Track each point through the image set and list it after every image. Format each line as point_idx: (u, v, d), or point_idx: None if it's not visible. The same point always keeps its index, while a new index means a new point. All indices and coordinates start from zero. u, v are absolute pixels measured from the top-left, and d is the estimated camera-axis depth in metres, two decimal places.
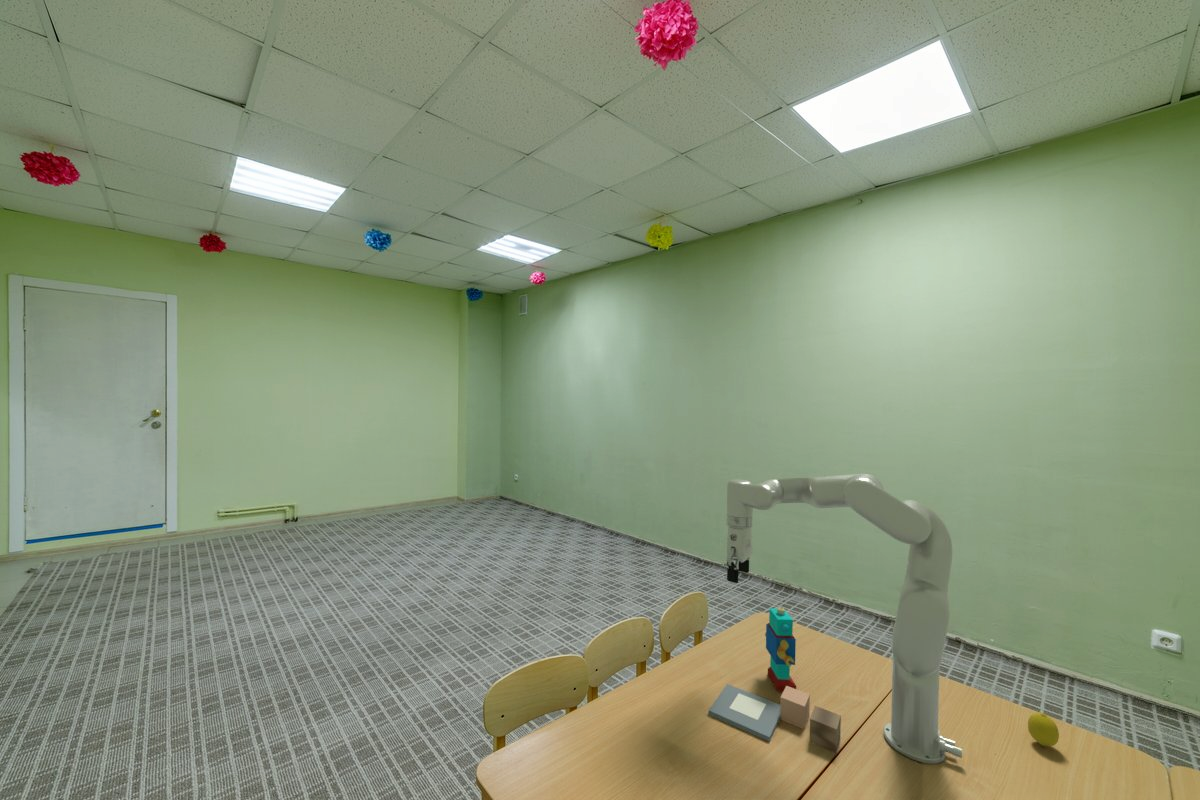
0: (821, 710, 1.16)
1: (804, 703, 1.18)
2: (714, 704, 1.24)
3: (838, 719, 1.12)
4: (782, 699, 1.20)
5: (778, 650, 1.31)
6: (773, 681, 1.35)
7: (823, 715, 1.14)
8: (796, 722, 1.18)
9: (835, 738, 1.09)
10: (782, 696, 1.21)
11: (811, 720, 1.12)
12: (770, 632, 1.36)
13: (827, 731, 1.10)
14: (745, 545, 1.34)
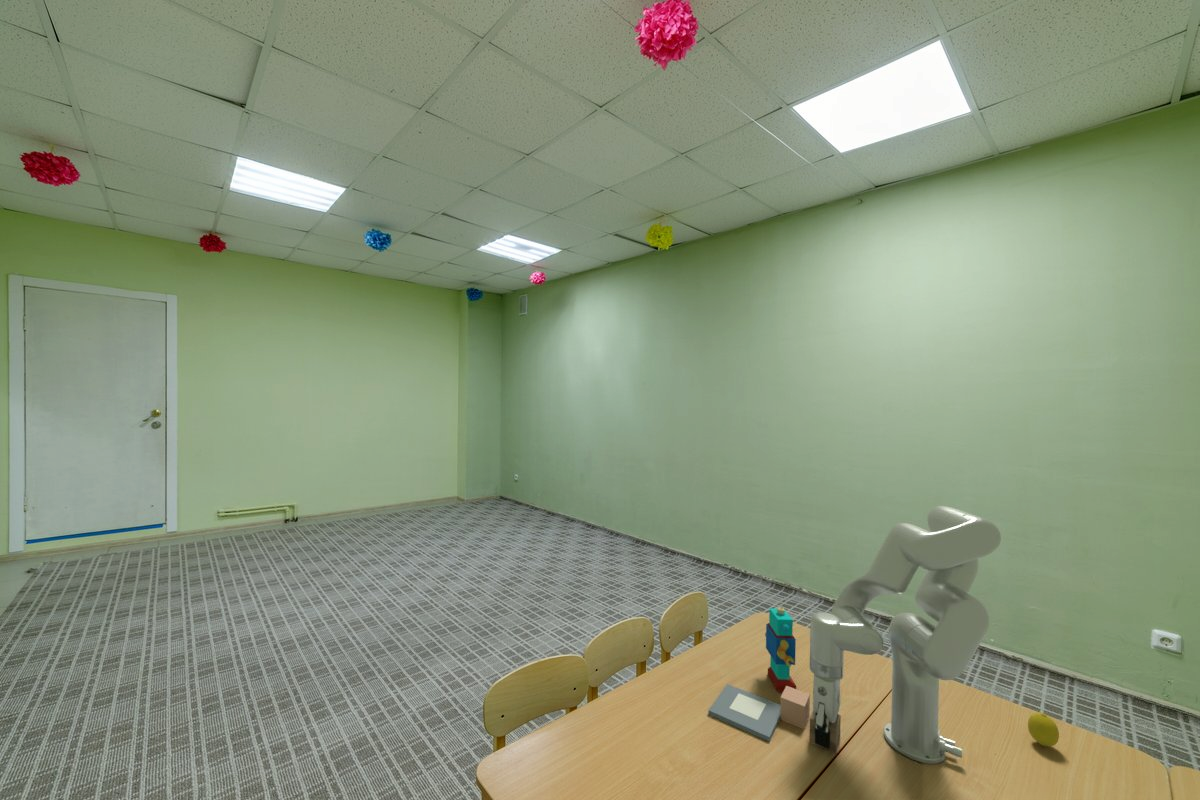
0: None
1: (804, 703, 1.18)
2: (714, 704, 1.24)
3: (838, 719, 1.12)
4: (782, 699, 1.20)
5: (778, 650, 1.31)
6: (773, 681, 1.35)
7: None
8: (796, 722, 1.18)
9: (835, 738, 1.09)
10: (782, 696, 1.21)
11: (811, 720, 1.12)
12: (770, 632, 1.36)
13: None
14: (836, 700, 1.10)
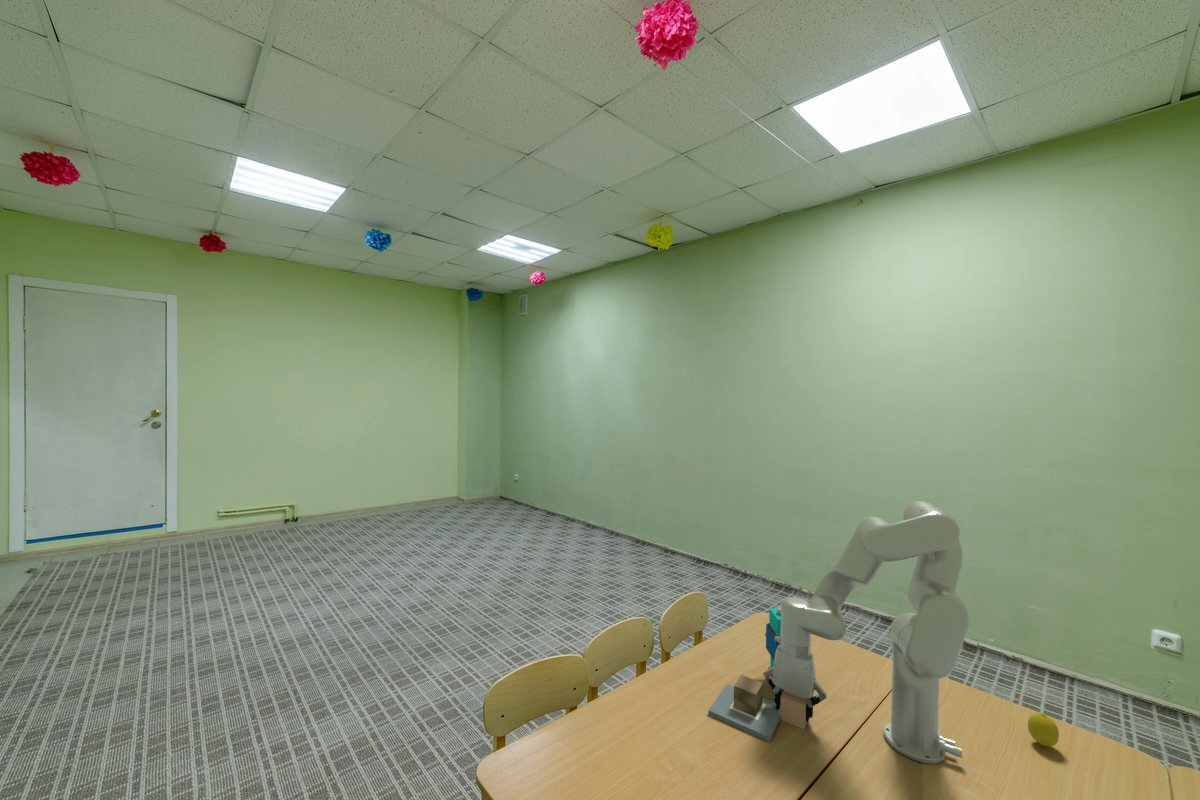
0: (746, 678, 1.26)
1: (804, 703, 1.18)
2: (714, 704, 1.24)
3: (759, 686, 1.23)
4: (782, 699, 1.20)
5: None
6: None
7: (747, 682, 1.24)
8: (796, 722, 1.18)
9: (755, 702, 1.20)
10: (782, 696, 1.21)
11: (735, 687, 1.23)
12: (770, 632, 1.36)
13: (748, 696, 1.21)
14: (782, 671, 1.20)
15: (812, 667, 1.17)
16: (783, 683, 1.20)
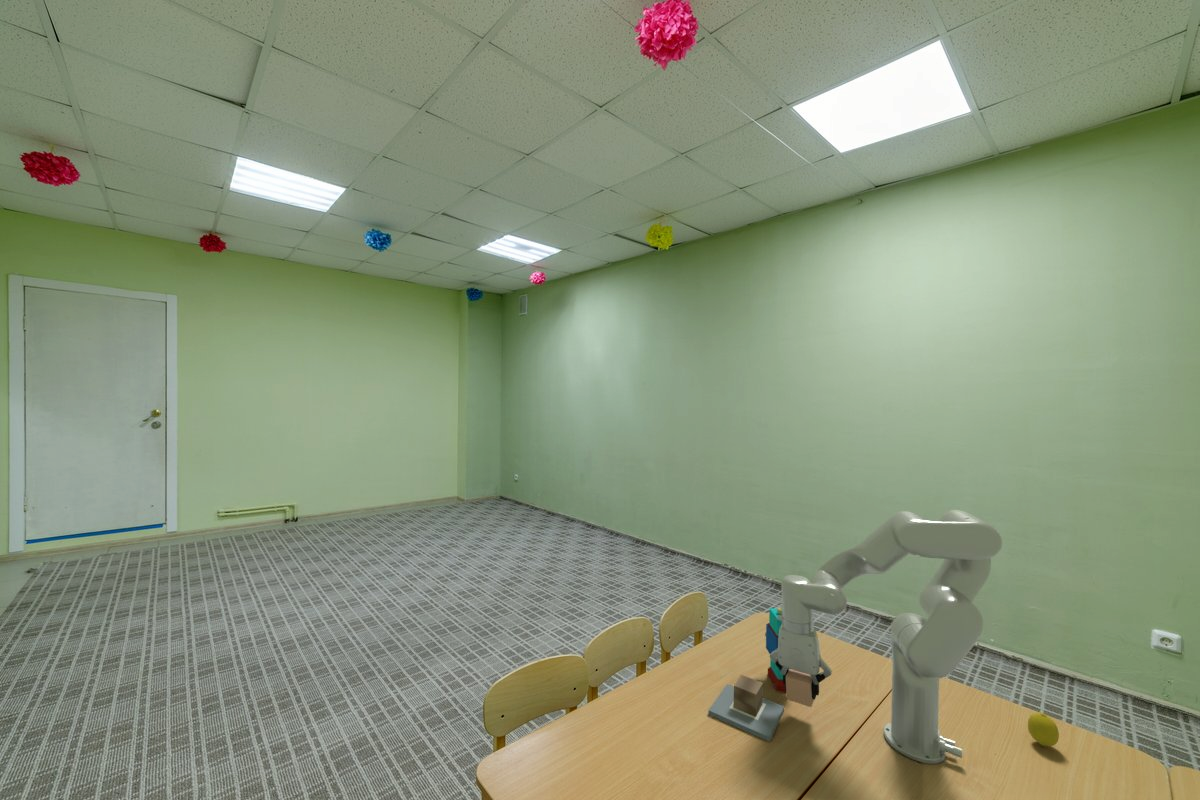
0: (746, 678, 1.26)
1: (809, 681, 1.18)
2: (714, 704, 1.24)
3: (759, 686, 1.23)
4: (787, 678, 1.20)
5: None
6: (773, 681, 1.35)
7: (747, 682, 1.24)
8: (802, 700, 1.18)
9: (755, 702, 1.20)
10: (787, 675, 1.20)
11: (735, 687, 1.23)
12: (770, 632, 1.36)
13: (748, 696, 1.21)
14: (787, 650, 1.20)
15: (816, 643, 1.17)
16: (788, 662, 1.20)
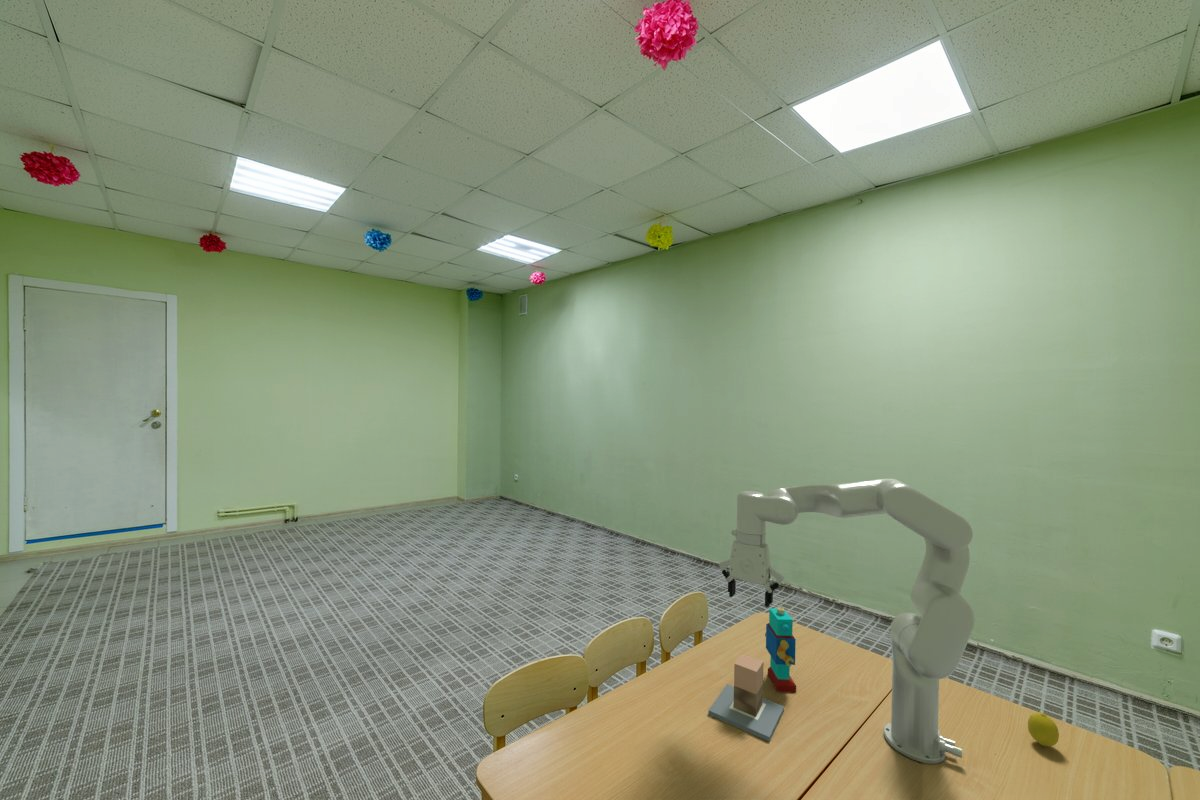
0: None
1: (756, 669, 1.20)
2: (714, 704, 1.24)
3: None
4: (736, 665, 1.22)
5: (778, 650, 1.31)
6: (773, 681, 1.35)
7: None
8: (749, 687, 1.20)
9: (755, 702, 1.20)
10: (736, 663, 1.23)
11: (735, 687, 1.23)
12: (770, 632, 1.36)
13: (748, 696, 1.21)
14: (738, 561, 1.22)
15: (766, 554, 1.19)
16: (739, 573, 1.22)
